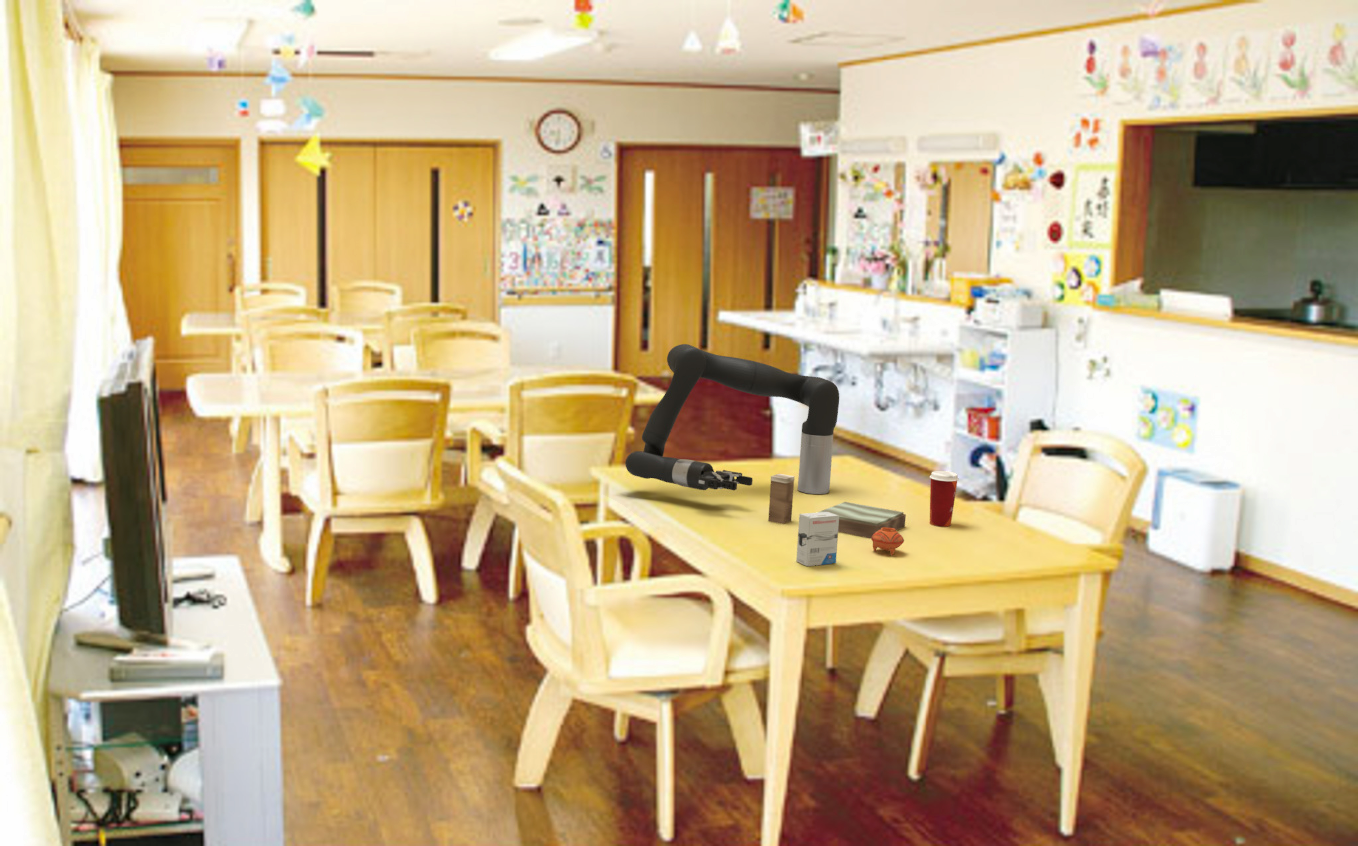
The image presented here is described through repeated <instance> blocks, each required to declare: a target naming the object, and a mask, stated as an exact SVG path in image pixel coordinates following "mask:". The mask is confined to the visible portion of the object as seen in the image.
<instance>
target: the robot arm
mask: <svg viewBox="0 0 1358 846" xmlns="http://www.w3.org/2000/svg"><path fill="white" fill-rule="evenodd" d="M666 362H667V366H668V368H669V369H670V370H671V372H672V373H673V375H672V379H671V381H670V384H669V386H668V388H667V390H666V391H665V393H664V394H663V396H662V398H661V399H660V400H659V402H658V403H657V404H656V406H655V407H654V409H653V411H652V412H651V414H650V416H649V418H648V420H647V422H646V424H645V427H644V430H643V432H642V435H641V440H642V442H644V447H643V450H642V451H641V450H637V451H633V452H631V453H630V454H628V456H627V457H626V459H625V462H624V463H625V468H626V470H627V472H628V473H629V474H630V475H632V476H634V477H637V478H642V479H654V480H659V481H662V482H664V483H669V484H673V485H674V484H675V485H677V486H681V487H684V488H690V489H694V490H698V491H699V490H700V491H707V490H708V489H712V490H714V491H715V490H723V489H724V490H725V489H726V490H730V491H731V490H732V491H737V489H738V485H744V486H748V487H749V486H752V485H753V477H751V476H745V475H743V473H742V472H737V471H731V470H725V469H723V470H714V468H713V465H712V464H711V463H708V462H703V461H697V460H693V459H686V458H685V459H683V458H682V459H681V458H676V457H670V456H664V453H665V447H666V443H667V441H668V439H669V436H670V434H671V432H672V430H673V427H674V426H675V423H676V420H677V418H678V416H679V414H680V412H681V410H682V408H683V406H684V405H685V402H686V400H687V399H688V397H689V396H690V394H691V393H692V391H693V389H694V387H695V386H696V384H697V383H698V381H699V380H700V379H705V380H710V381H713V382H716V383H719V384H721V385H723V386H725V387H728V388H730V389H733V390H736V391H739V392H743V393H746V394H750V395H754V396H761V397H771V398H773V397H775V398H785V399H788V400H791V401H794V402H795V403H796V402H797V403H800V404H803V406H807V407H808V411H807V418H806V420H805V421H803V422H802V425H801V436H800V450H799V451H800V452H799V464H798V465H799V467H798V481H797V490H798V491H799V492H802V493H805V494H813V495H824V494H825V495H826V494H828V493H830V487H831V475H832V474H831V471H832V460H833V459H832V458H833V457H832V456H833V446H834V445H833V443H834V431H835V427H836V425H837V423H838V414H839V407H840V406H839V405H840V393H839V392H840V391H839V388H838V386H837V385H836V384H835V382H833V381H831V380H828V379H825V378H823V377H819V376H818V377H817V376H809V375H802V374H794V373H791V372H787V371H785V370H782V369H780V368H777V367H775V366H772V365H769V364H765V363H763V362H759V361H755V360H750V359H744V358H740V357H734V356H725V355H720V354H714V353H712V352H711V353H710V352H708V351H705V350H702V349H700V348H697V347H696V346H693V345H691V344H687V343H683V344H677V345H676V346H674V347H672V348H671V349H670V350H669V352H668V353H667V356H666ZM735 477H736V478H735Z"/></svg>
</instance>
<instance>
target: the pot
mask: <svg viewBox="0 0 1358 846" xmlns="http://www.w3.org/2000/svg"><path fill="white" fill-rule="evenodd" d="M870 540H871V541H872V549H873V551H874V552H876V551H877V549H878V548H879V549H880V550H883V551H889V553H890V556H894V555H895V551H896V549H898V548H900V547H901V546H902V545H903V544H904V542H905V539H904V537H903V536H902V534H901V533H899V531H898V530H897V531H896V529H894V528H885V527H883V528H881V530H879V531H877V532H875V533H874V534H873V535H872V537H871V538H870Z"/></svg>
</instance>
